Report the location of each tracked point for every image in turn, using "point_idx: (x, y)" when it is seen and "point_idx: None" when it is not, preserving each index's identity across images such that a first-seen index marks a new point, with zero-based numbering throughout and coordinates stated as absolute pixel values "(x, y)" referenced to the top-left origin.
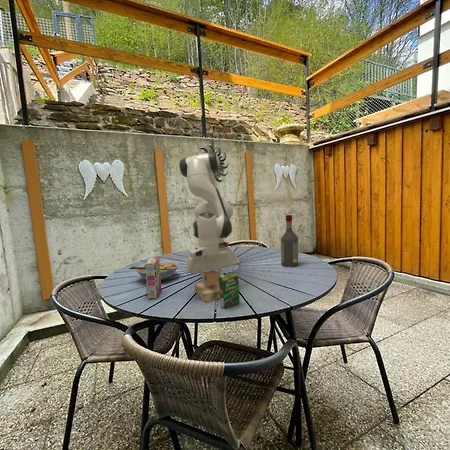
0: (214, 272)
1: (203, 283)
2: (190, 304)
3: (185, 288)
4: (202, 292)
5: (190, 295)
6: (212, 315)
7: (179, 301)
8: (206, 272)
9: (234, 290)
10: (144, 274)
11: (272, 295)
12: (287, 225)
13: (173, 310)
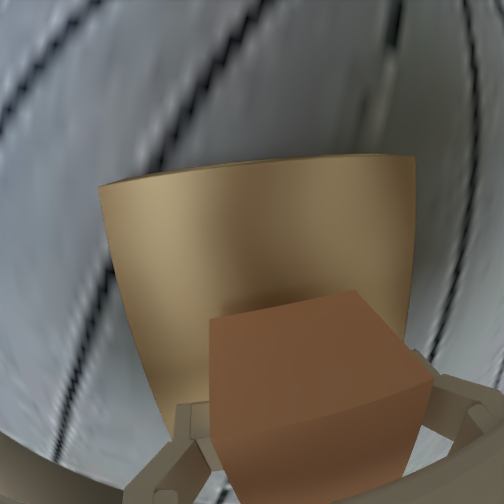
0: (379, 470)
1: (212, 206)
2: (98, 402)
3: (55, 73)
4: (173, 428)
5: (81, 263)
6: (211, 497)
7: (24, 336)
8: (264, 466)
9: None
10: None
11: (498, 383)
12: None
13: (29, 417)
